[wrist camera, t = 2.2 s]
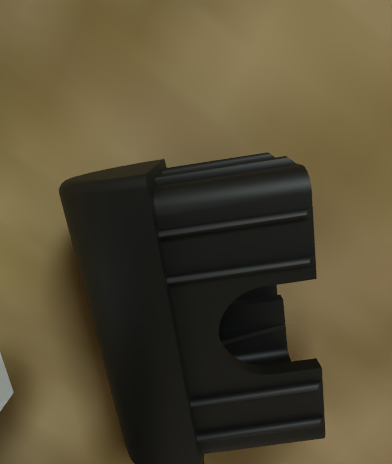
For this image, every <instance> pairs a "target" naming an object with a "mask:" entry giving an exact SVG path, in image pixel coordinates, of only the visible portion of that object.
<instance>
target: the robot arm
mask: <svg viewBox="0 0 392 464" xmlns="http://www.w3.org/2000/svg"><path fill="white" fill-rule="evenodd" d="M13 393H14V392H13V389H12V386H11V383H10V380H9V377H8V374H7V371H6V368H5V365H4V362H3V359H2V356H1V353H0V411H1V410H2V408H3V407H4V406H5V404H6V403H7V401H8V400H9V398H10V397H11V396H12V394H13Z"/></svg>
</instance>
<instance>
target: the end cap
mask: <svg viewBox="0 0 392 464" xmlns="http://www.w3.org/2000/svg"><path fill="white" fill-rule="evenodd" d="M59 194H60V198H61V202H62V206H63V209H64V213H65V217H66V221H67V225H68V229H69V232H70V236H71V240H72V244H73V248H74V251H75V255H76V259H77V263H78V267H79V271H80V274H81V278H82V282H83V286H84V290H85V293H86V297H87V301H88V305H89V309H90V312H91V316H92V320H93V324H94V328H95V332H96V335H97V339H98V343H99V347H100V351H101V354H102V358H103V362H104V366H105V370H106V374H107V377H108V381H109V385H110V389H111V393H112V396H113V400H114V404H115V408H116V412H117V415H118V419H119V423H120V427H121V431H122V435H123V438H124V442H125V446H126V448H127V451H128V453H129V455H130V458H131V460H132V461H133V462H134V464H204V454H206V453H214V452H221V451H229V450H237V449H245V448H252V447H260V446H268V445H275V444H283V443H291V442H298V441H306V440H314V439H321V438H325V418H324V401H323V383H322V368H321V366H320V364H319V362H318V361H317V359H308V360H301V361H294V362H291V359H290V357H289V354H288V349H287V339H286V328H285V316H284V305H283V299H282V297H281V295H277V286H276V285H277V284H284V283H291V282H298V281H305V280H312V279H317V278H316V260H315V243H314V225H313V207H312V191H311V183H310V179H309V175H308V172H307V170H306V168H305V167H304V166H303V165H300V164H296V163H294V162H293V161H292V160H291V159H289V158H288V157H286V156H283V157H277V158H275V157H274V156H272V155H271V154H270V153H262V154H255V155H249V156H242V157H236V158H229V159H223V160H216V161H210V162H203V163H197V164H190V165H184V166H177V167H171V168H166V164H165V160H164V159H162V160H155V161H149V162H143V163H137V164H132V165H126V166H121V167H116V168H111V169H106V170H101V171H96V172H92V173H88V174H84V175H80V176H77V177H73V178H70V179H68V180H66V181H64V182H63V183H62V184H61V186H60V188H59Z"/></svg>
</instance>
